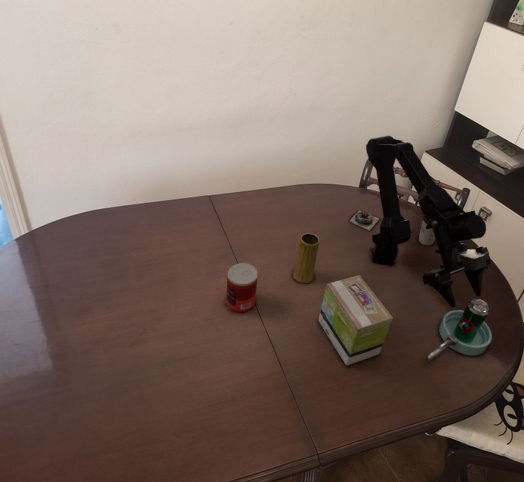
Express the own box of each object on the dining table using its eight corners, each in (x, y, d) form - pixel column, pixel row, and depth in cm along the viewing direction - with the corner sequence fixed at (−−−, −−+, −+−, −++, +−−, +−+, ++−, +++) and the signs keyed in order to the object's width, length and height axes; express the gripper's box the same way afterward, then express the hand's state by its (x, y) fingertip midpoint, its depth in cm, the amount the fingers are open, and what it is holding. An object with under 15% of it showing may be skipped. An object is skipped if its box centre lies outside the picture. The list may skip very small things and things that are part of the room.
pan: (442, 351, 117) (447, 343, 115) (435, 315, 127) (439, 306, 125) (491, 359, 116) (497, 351, 114) (480, 322, 126) (485, 314, 124)
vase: (315, 272, 136) (323, 235, 128) (310, 286, 132) (318, 248, 123) (296, 266, 138) (302, 229, 129) (290, 279, 133) (296, 242, 124)
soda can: (474, 345, 119) (492, 315, 112) (454, 341, 120) (470, 310, 112) (471, 330, 123) (488, 299, 116) (452, 326, 124) (467, 295, 116)
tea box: (316, 321, 122) (325, 281, 113) (348, 311, 125) (360, 272, 116) (345, 367, 111) (358, 328, 102) (380, 355, 115) (395, 316, 106)
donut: (359, 210, 163) (360, 205, 162) (379, 219, 160) (380, 214, 159) (348, 221, 158) (349, 216, 156) (369, 230, 154) (370, 226, 153)
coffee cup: (438, 239, 154) (448, 215, 148) (433, 250, 149) (442, 226, 143) (418, 231, 156) (427, 207, 150) (412, 241, 152) (421, 217, 145)
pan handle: (448, 338, 118) (450, 334, 117) (456, 344, 117) (458, 340, 116) (422, 357, 113) (424, 353, 112) (430, 364, 111) (432, 360, 110)
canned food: (259, 297, 127) (262, 268, 120) (246, 317, 121) (249, 288, 114) (234, 287, 129) (236, 258, 122) (220, 306, 123) (222, 277, 116)
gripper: (446, 248, 107) (465, 313, 106) (499, 229, 115) (518, 290, 114) (413, 253, 117) (431, 312, 117) (464, 235, 125) (481, 291, 124)
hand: (466, 301), depth 118 cm, fingers open, 9 cm apart
